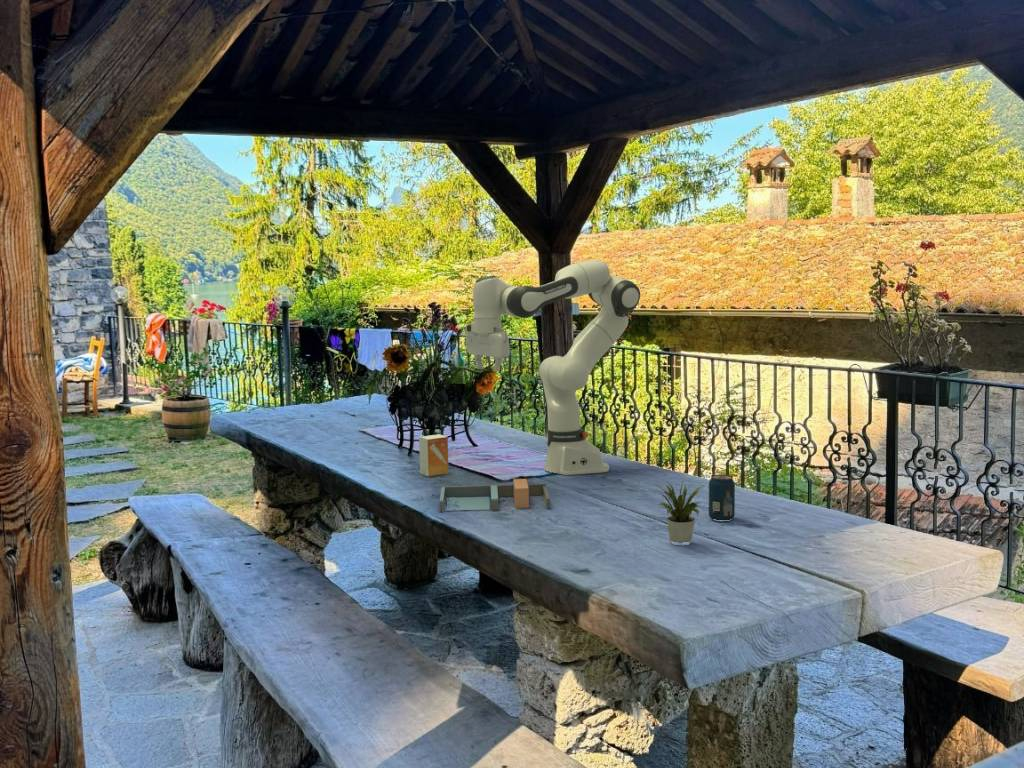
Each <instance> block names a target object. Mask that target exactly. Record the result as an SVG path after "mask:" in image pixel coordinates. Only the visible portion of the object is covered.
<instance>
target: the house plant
mask: <svg viewBox="0 0 1024 768" xmlns="http://www.w3.org/2000/svg"><path fill="white" fill-rule="evenodd" d="M684 481H685V479H683V481H682V482H681V486H680V490H679V495H678V496H676V493H675V489H674V488H673V485H672V484H671V483H669V482H667V481H666V483H665V487H666V488H667V489H668V491H666V490H664V488H663V487H661V485H658V484H655V483H653V485H655V486H657V487H659V488H660V489H661V491H662V492H664V493H665V494H662V493H660V495H661V497H664V499H665V500H666V501H667V503H666V502H659V504H658V506H661V507H659V508H662V509H663V508H664V509H666V511H667V512H666V513H667V517H666V523H667V524H666V526H667V530H668V536H669V542H670V541H673V542H678V543H683V542H690V541H691V540H692V539H693V533H694V526H695V521H696V518H695V517H693V516H692V512H695V513H696V514H697V515H699V513H700V511H699V509H697V508H698V507H700V505H698V504H701V502H699V501H698V502H697V501H696V502H692V499H694V497H695V496H696V495H697V494H699V493H700V491H699V490H700V489H702V488H703V487H705V484H703V485H701V486H699V487H697V488H696V489H694V491H693V492H692V493H691V494H690V495H689V497H688V499H687V500H686V497H687V493H688V492H687V491H688V488H689V487H690V485H688V486H687V484H686V483H685V482H684ZM684 483H685V484H684ZM649 484H650V485H651V483H649ZM683 484H684V489H683ZM682 490H683V491H682ZM669 514H670V516H668V515H669ZM692 541H693V540H692ZM692 541H691V542H692Z"/></svg>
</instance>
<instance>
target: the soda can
mask: <svg viewBox="0 0 1024 768" xmlns="http://www.w3.org/2000/svg"><path fill="white" fill-rule="evenodd" d="M708 481H709V482H708V516H709V518H710V519H711V518H712V519H716V520H730V519H732V518H733V519H734V518H735V515H736V513H735V512H736V511H735V509H736V508H735V507H736V506H735V503H736V502H735V500H736V499H735V498H736V497H735V496H736V493H735V492H736V491H735V490H736V488H735V487H736V486H735V485H736V483H735V480H734V479H733V476H732V475H731V474H730V475H729V474H713V475H711V476H710V479H709V480H708ZM733 519H732V520H733Z"/></svg>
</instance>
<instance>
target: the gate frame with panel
mask: <svg viewBox="0 0 1024 768" xmlns="http://www.w3.org/2000/svg"><path fill="white" fill-rule="evenodd" d="M527 484H528V488H529V497H530V496H542V497H543V500H544V505H545V509H546V510H549V509H550V508H551V500H550V499H551V497H550V495H549V491H548V488H547V484H546V483H527ZM445 497H447V498H445ZM450 497H456V498H450ZM501 497H502V498H503V497H514V485H513V483H511V484H486V485H485V484H480V485H478V484H477V485H452V486H451V485H450V486H449V485H447V486H441V489H440V495H439V512H440V511H443V510H444V511H445V504H446V501H447V500H448V499H449V500H451V501H452V502H451V501H450V502H451V503H452V504H453V503H455V501H458V502H457V503H458V504H457V503H456V504H457V505H459V507H460V508H456V507H454V509H455V508H456V510H458V509H459V510H475V511H476V510H480V511H490V510H491V512H492V511H493V512H494V511H499V498H501ZM452 499H453V500H452ZM444 503H445V504H444ZM448 503H449V502H448ZM451 503H450V504H451ZM450 506H452V505H450ZM452 507H453V506H452ZM444 511H443V512H444ZM475 511H474V512H475Z"/></svg>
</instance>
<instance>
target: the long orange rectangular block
mask: <svg viewBox="0 0 1024 768" xmlns="http://www.w3.org/2000/svg"><path fill="white" fill-rule="evenodd" d="M512 481H513V483H512V484H513V485H514V496H513V500H514V506H515V509H529V508H530V500H529V499H530V498H529V497H530V496H529V488H528V484H529V483H528V480H527V478H516V479H514V478H513V480H512Z"/></svg>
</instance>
